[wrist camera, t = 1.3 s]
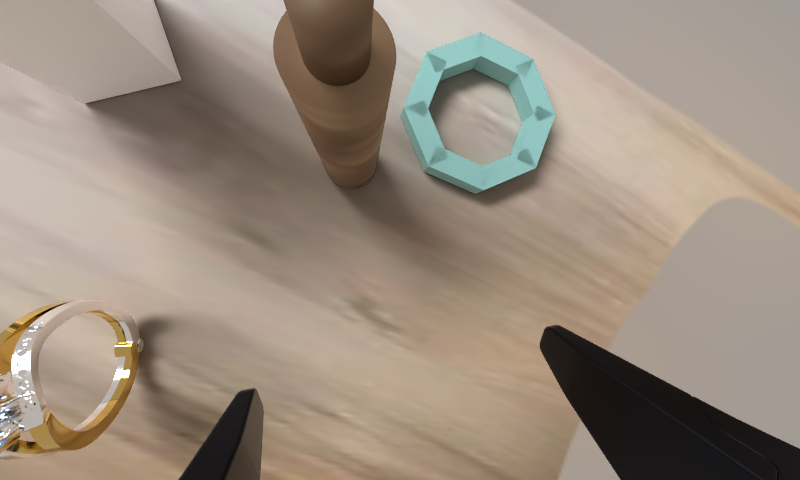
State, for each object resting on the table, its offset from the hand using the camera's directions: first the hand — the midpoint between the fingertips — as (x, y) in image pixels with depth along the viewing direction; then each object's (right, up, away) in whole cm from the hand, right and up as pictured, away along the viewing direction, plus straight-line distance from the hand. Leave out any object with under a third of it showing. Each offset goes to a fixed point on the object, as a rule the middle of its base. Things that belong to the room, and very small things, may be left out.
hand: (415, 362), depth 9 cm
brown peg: (-4, +9, +12) cm, 15 cm away
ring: (-17, -3, +10) cm, 20 cm away
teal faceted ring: (+5, +13, +13) cm, 18 cm away
